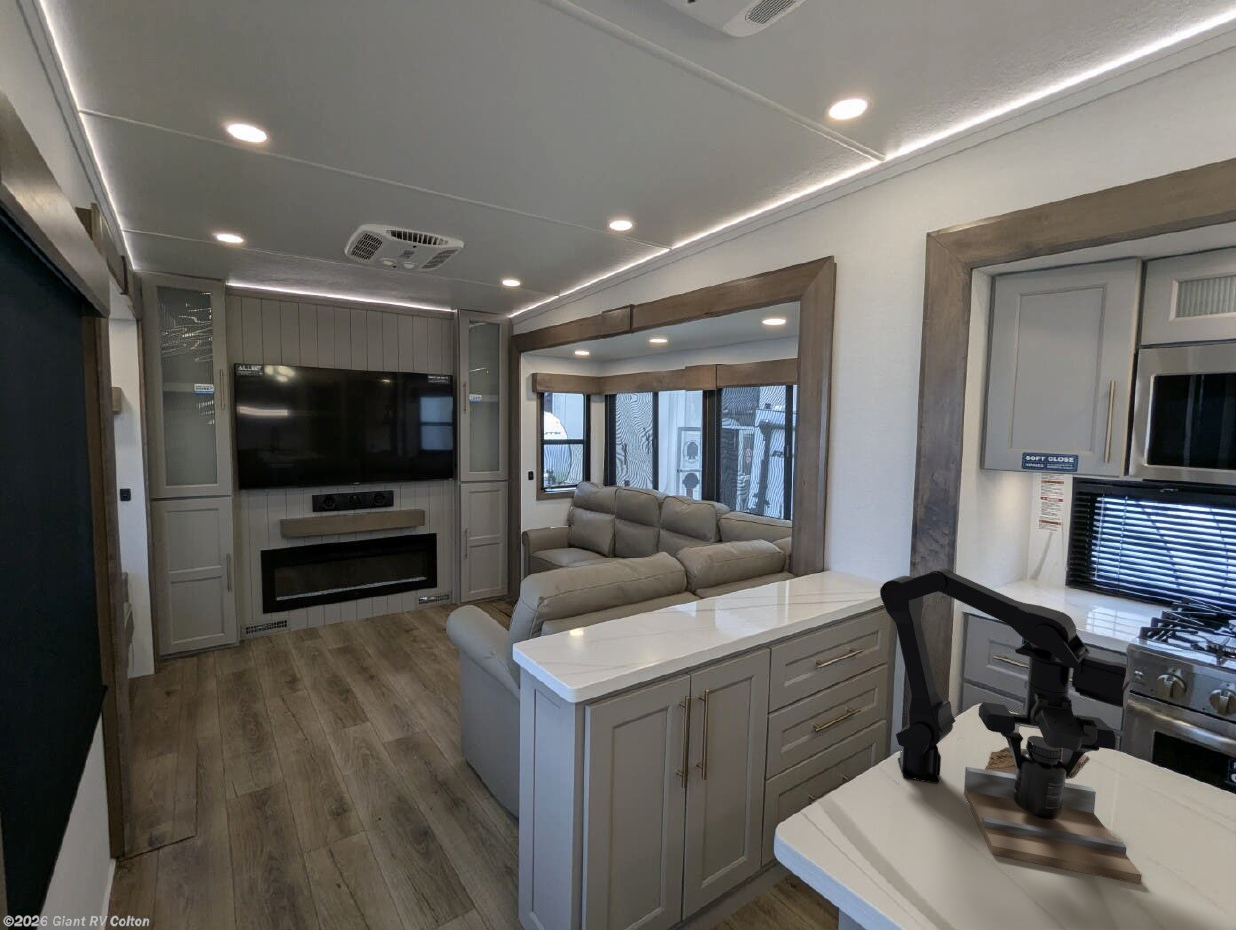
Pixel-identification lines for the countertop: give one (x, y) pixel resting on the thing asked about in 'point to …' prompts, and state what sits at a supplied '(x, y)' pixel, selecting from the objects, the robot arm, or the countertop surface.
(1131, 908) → the countertop surface
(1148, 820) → the countertop surface
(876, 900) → the countertop surface
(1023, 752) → the supplement bottle
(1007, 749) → the wooden fragment
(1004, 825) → the cleat board
